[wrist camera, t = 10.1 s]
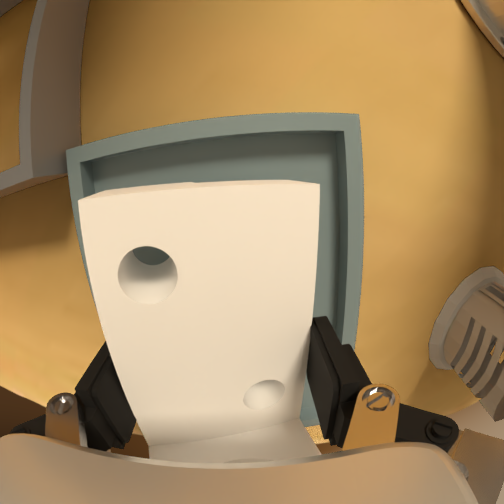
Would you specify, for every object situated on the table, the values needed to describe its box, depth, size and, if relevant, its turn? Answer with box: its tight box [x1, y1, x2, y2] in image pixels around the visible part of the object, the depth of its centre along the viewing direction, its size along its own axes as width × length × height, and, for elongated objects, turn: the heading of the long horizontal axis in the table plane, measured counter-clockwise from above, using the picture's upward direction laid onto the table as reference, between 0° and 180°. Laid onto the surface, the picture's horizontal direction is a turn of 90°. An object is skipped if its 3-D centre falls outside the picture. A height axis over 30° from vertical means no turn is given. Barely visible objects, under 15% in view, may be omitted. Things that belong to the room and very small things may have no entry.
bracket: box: [78, 180, 322, 463], centre depth 9 cm, size 13×7×8 cm, turn 1°
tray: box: [66, 113, 364, 427], centre depth 14 cm, size 14×19×2 cm
